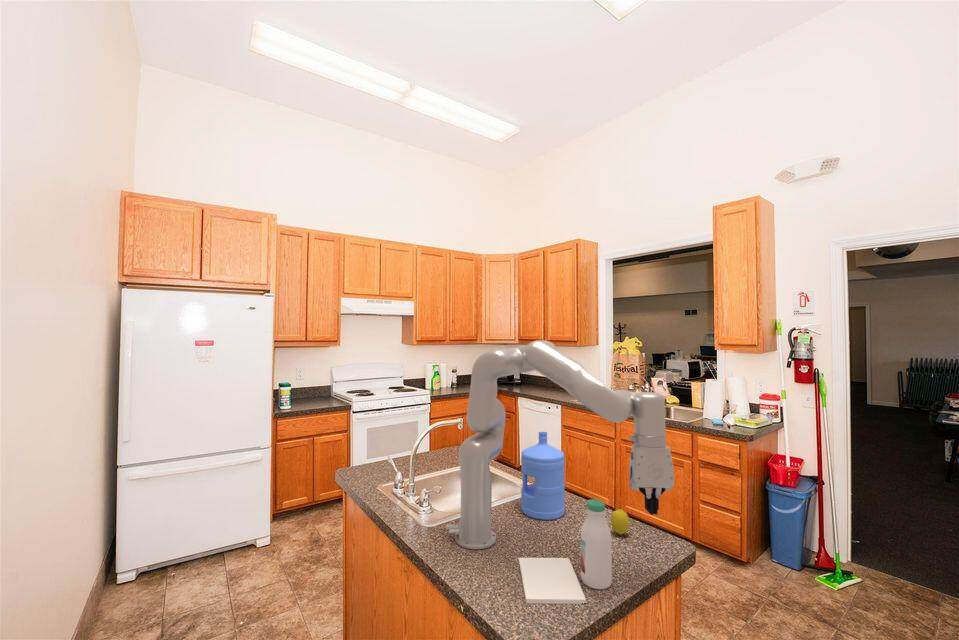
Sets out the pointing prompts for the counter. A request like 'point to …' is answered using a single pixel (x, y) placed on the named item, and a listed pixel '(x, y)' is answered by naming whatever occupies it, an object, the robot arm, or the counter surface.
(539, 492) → the water jug
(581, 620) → the counter surface
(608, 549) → the milk bottle
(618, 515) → the lemon
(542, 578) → the cutting board
